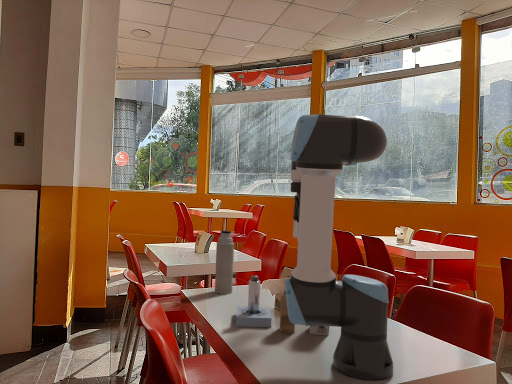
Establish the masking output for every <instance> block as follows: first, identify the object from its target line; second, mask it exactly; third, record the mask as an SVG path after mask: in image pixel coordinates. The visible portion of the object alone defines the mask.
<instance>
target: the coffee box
mask: <svg viewBox="0 0 512 384" xmlns="http://www.w3.org/2000/svg"><path fill="white" fill-rule="evenodd" d="M308 332H309V333H308V334H309V335H317V336H318V335H320V336H329V335H330V334H329V333H330V326H309V331H308Z"/></svg>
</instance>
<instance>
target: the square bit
mask: <svg viewBox="0 0 512 384" xmlns="http://www.w3.org/2000/svg"><path fill="white" fill-rule="evenodd" d="M295 325H296V324H293V323H291V322H290V320H289V317H288V310H287V301H286V291H285V287H284V292H280V309H279V332H280V334H281V333H283V334H285V333H286V334H295V328H296V327H295Z"/></svg>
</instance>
